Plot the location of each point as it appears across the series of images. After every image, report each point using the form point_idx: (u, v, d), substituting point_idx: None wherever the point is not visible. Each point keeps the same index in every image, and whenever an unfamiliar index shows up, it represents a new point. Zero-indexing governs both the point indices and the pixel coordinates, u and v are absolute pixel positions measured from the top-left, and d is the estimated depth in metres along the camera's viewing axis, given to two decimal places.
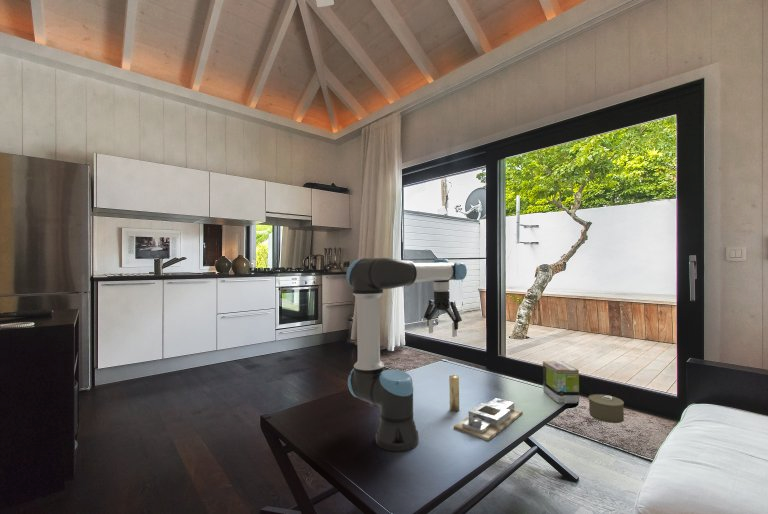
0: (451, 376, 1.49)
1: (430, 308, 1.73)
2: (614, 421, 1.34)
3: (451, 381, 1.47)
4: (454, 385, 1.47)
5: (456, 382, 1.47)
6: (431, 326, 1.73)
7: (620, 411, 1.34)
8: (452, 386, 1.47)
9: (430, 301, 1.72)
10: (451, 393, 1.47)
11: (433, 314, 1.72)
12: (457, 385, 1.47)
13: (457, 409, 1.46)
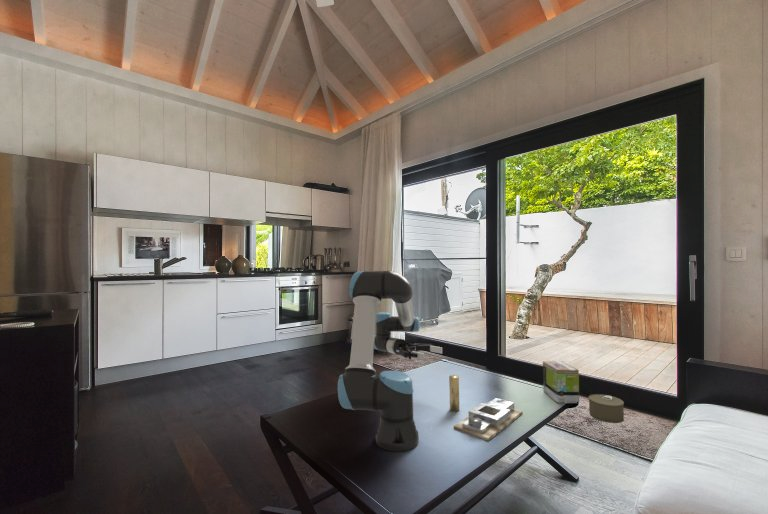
0: (451, 376, 1.49)
1: None
2: (614, 421, 1.34)
3: (451, 381, 1.47)
4: (454, 385, 1.47)
5: (456, 382, 1.47)
6: None
7: (620, 411, 1.34)
8: (452, 386, 1.47)
9: (398, 347, 1.63)
10: (451, 393, 1.47)
11: None
12: (457, 385, 1.47)
13: (457, 409, 1.46)
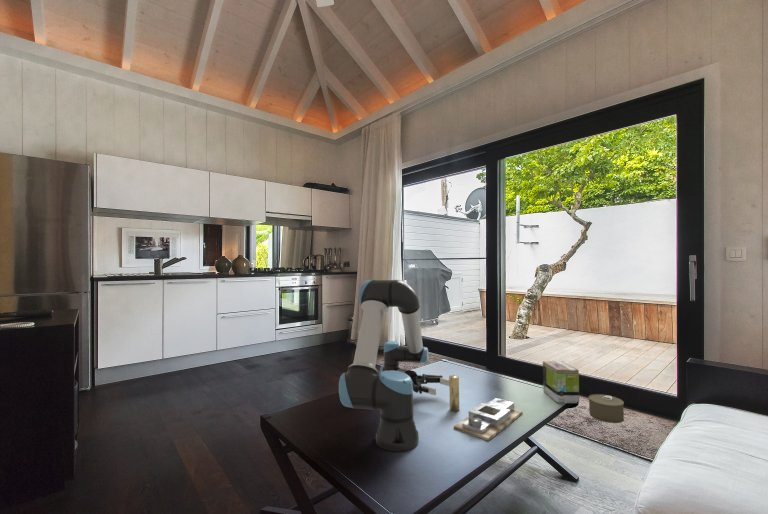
0: (451, 376, 1.49)
1: None
2: (614, 421, 1.34)
3: (451, 381, 1.47)
4: (454, 385, 1.47)
5: (456, 382, 1.47)
6: None
7: (620, 411, 1.34)
8: (452, 386, 1.47)
9: None
10: (451, 393, 1.47)
11: None
12: (457, 385, 1.47)
13: (457, 409, 1.46)
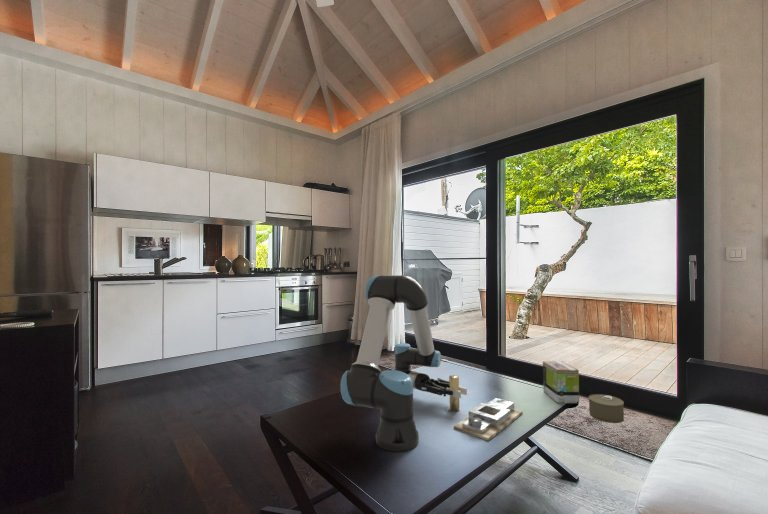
0: (451, 376, 1.49)
1: None
2: (614, 421, 1.34)
3: (451, 381, 1.47)
4: (454, 385, 1.47)
5: (456, 382, 1.47)
6: None
7: (620, 411, 1.34)
8: (452, 386, 1.47)
9: (423, 384, 1.53)
10: None
11: None
12: (457, 385, 1.47)
13: (457, 409, 1.46)
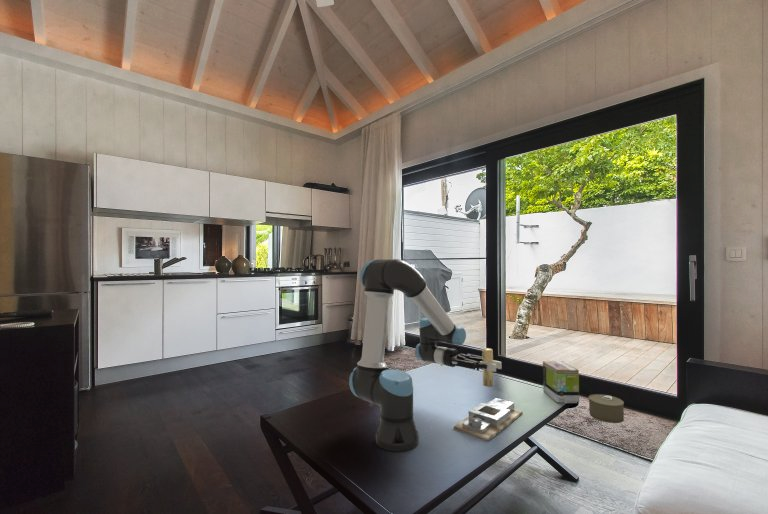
0: (484, 349, 1.39)
1: None
2: (614, 421, 1.34)
3: (485, 354, 1.37)
4: (488, 358, 1.36)
5: (490, 355, 1.37)
6: None
7: (620, 411, 1.34)
8: (486, 359, 1.37)
9: (453, 359, 1.42)
10: None
11: None
12: (491, 358, 1.37)
13: (491, 384, 1.36)
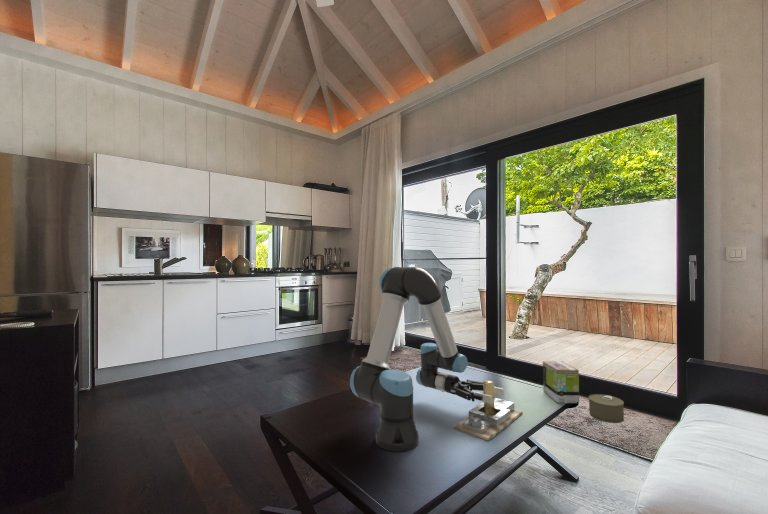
0: (485, 381, 1.38)
1: None
2: (614, 421, 1.34)
3: (486, 387, 1.37)
4: (489, 390, 1.36)
5: (491, 388, 1.36)
6: None
7: (620, 411, 1.34)
8: (487, 392, 1.36)
9: (452, 387, 1.42)
10: None
11: None
12: (492, 391, 1.36)
13: None
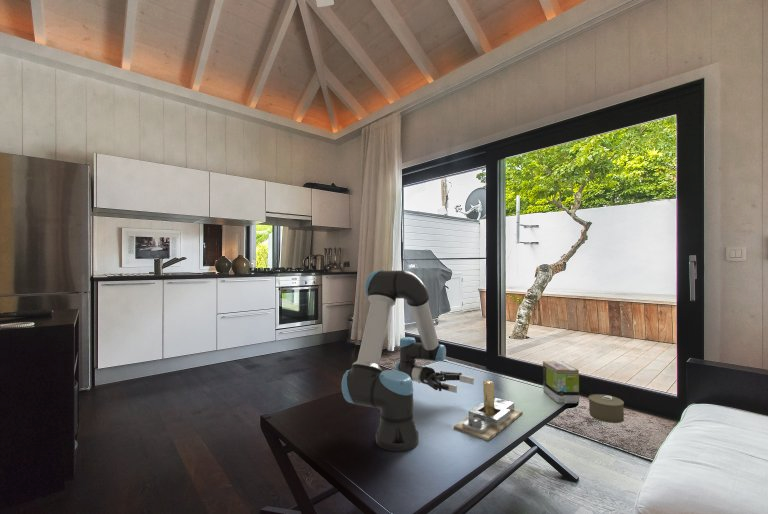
0: (485, 382, 1.38)
1: None
2: (614, 421, 1.34)
3: (486, 387, 1.36)
4: (489, 391, 1.36)
5: (491, 388, 1.36)
6: None
7: (620, 411, 1.34)
8: (487, 393, 1.36)
9: (426, 377, 1.52)
10: (486, 400, 1.36)
11: None
12: (492, 391, 1.36)
13: None
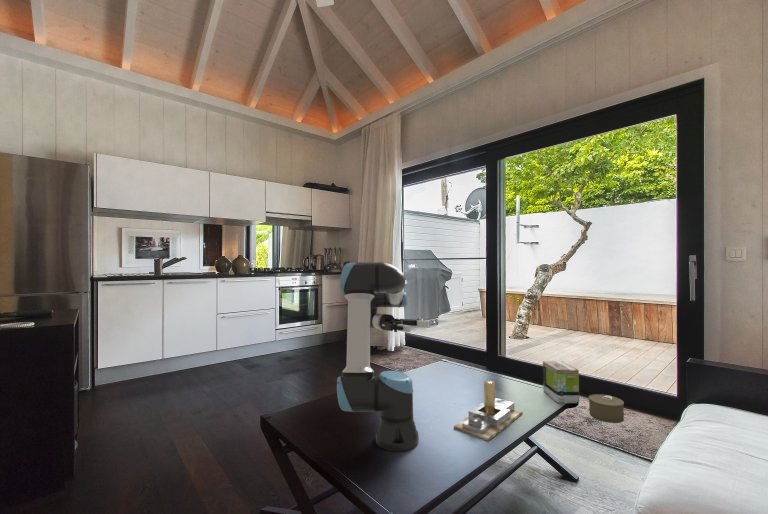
0: (486, 382, 1.38)
1: None
2: (614, 421, 1.34)
3: (487, 387, 1.36)
4: (490, 391, 1.36)
5: (492, 388, 1.36)
6: None
7: (620, 411, 1.34)
8: (488, 393, 1.36)
9: (384, 322, 1.58)
10: (486, 400, 1.36)
11: None
12: (493, 392, 1.36)
13: None
